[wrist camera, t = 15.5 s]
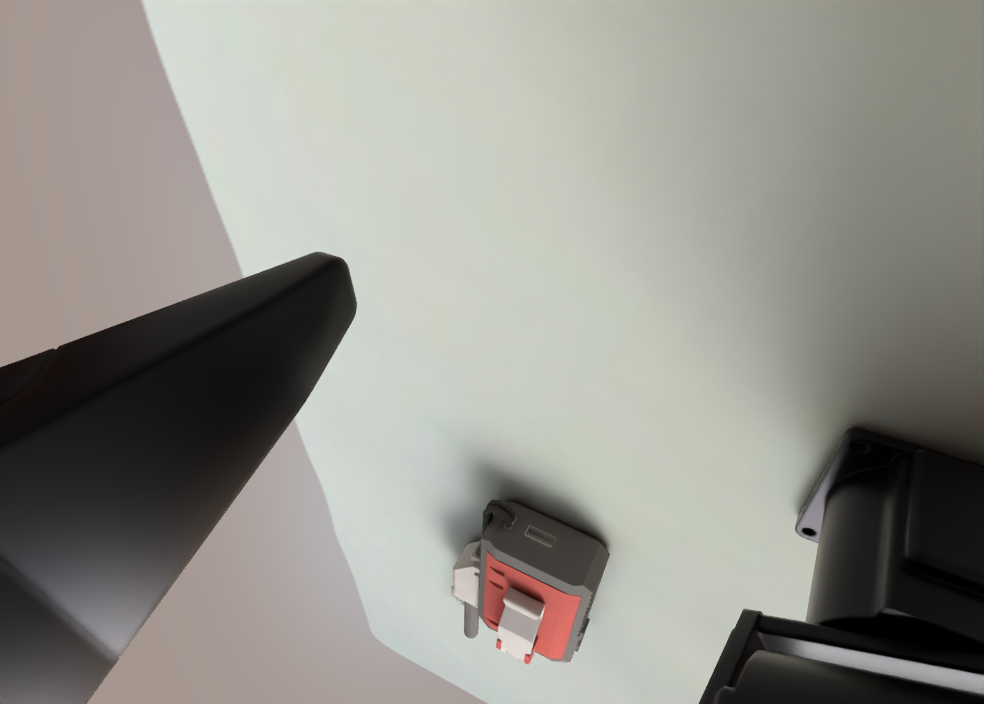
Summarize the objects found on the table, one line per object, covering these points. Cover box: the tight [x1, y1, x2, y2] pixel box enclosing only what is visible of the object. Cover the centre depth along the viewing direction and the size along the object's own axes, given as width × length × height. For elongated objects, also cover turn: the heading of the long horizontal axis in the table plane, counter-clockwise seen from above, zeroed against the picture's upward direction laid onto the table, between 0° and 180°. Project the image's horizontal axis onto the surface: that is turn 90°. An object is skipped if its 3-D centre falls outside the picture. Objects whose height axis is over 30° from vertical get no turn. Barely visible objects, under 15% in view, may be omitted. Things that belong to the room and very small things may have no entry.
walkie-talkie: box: [452, 500, 610, 664], centre depth 40 cm, size 9×4×20 cm
